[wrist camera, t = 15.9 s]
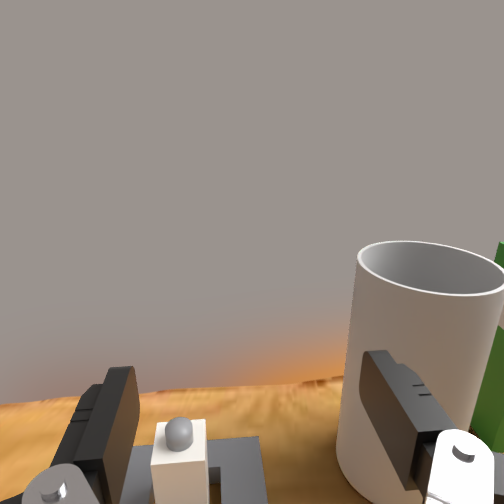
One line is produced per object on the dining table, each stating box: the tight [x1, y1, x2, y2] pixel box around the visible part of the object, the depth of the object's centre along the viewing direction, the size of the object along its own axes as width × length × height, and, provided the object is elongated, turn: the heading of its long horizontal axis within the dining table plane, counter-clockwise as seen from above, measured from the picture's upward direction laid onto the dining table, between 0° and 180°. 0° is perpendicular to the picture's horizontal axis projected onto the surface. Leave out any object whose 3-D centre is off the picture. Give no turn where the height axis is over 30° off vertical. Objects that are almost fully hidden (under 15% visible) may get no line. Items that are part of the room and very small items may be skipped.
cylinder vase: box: [336, 241, 504, 504], centre depth 39 cm, size 12×12×25 cm
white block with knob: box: [150, 417, 210, 504], centre depth 35 cm, size 4×4×12 cm
